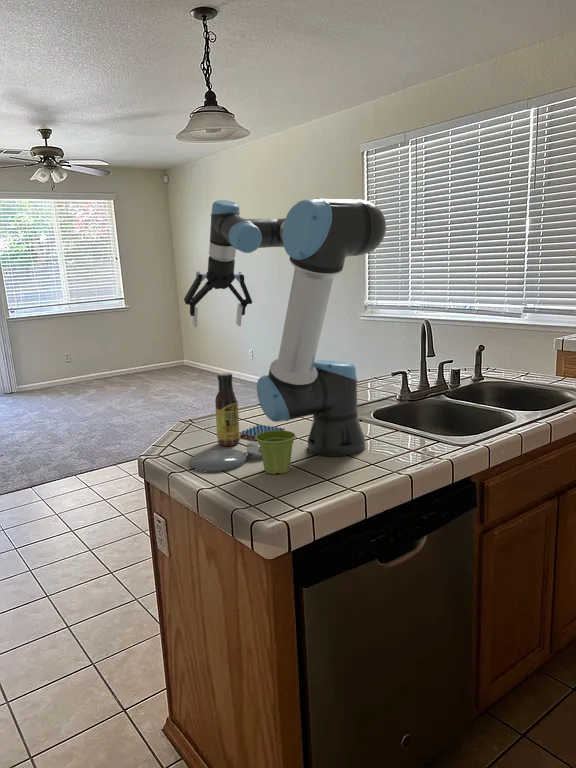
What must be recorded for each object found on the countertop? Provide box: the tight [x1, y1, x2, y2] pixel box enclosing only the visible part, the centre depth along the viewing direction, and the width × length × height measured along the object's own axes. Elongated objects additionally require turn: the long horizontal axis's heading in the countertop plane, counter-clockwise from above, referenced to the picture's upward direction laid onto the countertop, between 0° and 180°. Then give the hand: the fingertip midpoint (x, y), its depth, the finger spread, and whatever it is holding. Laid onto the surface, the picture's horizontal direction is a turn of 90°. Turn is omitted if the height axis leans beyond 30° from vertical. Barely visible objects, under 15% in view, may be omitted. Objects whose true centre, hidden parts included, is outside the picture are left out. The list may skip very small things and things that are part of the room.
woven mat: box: [239, 424, 285, 441], centre depth 164 cm, size 10×11×2 cm
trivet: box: [190, 448, 247, 473], centre depth 143 cm, size 14×14×1 cm
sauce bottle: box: [214, 372, 240, 447], centre depth 156 cm, size 7×6×20 cm
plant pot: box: [255, 429, 296, 475], centre depth 135 cm, size 9×9×9 cm
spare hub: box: [245, 440, 263, 460], centre depth 147 cm, size 6×6×3 cm
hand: (216, 324), depth 171 cm, fingers open, 13 cm apart
